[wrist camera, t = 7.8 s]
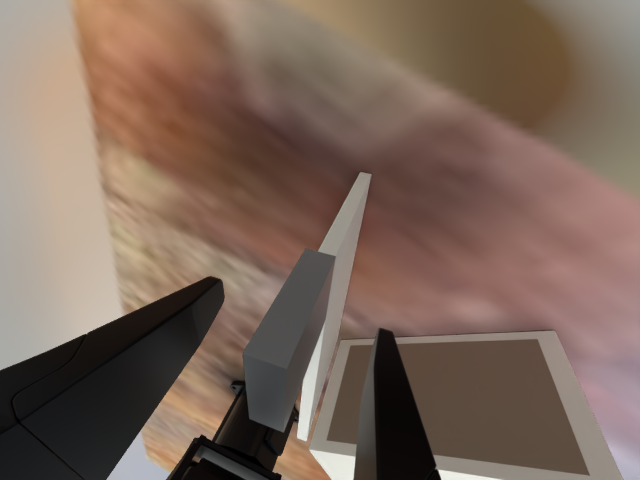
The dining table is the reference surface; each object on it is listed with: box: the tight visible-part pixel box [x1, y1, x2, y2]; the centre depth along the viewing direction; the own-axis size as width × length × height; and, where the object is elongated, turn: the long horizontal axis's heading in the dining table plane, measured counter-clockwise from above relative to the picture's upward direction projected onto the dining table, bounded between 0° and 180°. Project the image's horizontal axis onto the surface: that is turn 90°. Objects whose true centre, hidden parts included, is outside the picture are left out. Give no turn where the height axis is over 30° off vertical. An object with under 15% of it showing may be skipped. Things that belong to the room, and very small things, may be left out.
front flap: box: [242, 172, 372, 441], centre depth 15 cm, size 14×1×12 cm, turn 174°
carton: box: [309, 331, 623, 480], centre depth 19 cm, size 14×11×8 cm
